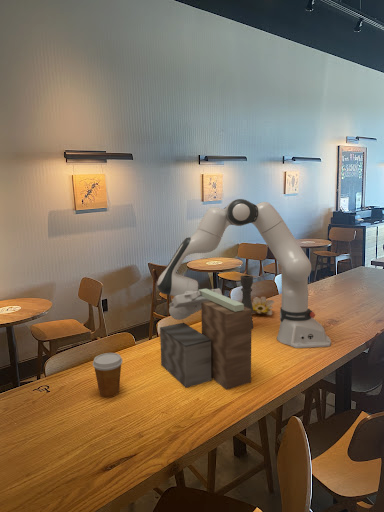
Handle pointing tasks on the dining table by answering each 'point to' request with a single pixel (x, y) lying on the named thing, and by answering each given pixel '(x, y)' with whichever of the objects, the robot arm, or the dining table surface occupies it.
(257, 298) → the decorative flower
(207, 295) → the slat
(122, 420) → the dining table surface
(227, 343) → the plinth
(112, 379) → the disposable coffee cup
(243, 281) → the candle holder
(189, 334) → the dark wood grain brick
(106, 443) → the dining table surface
